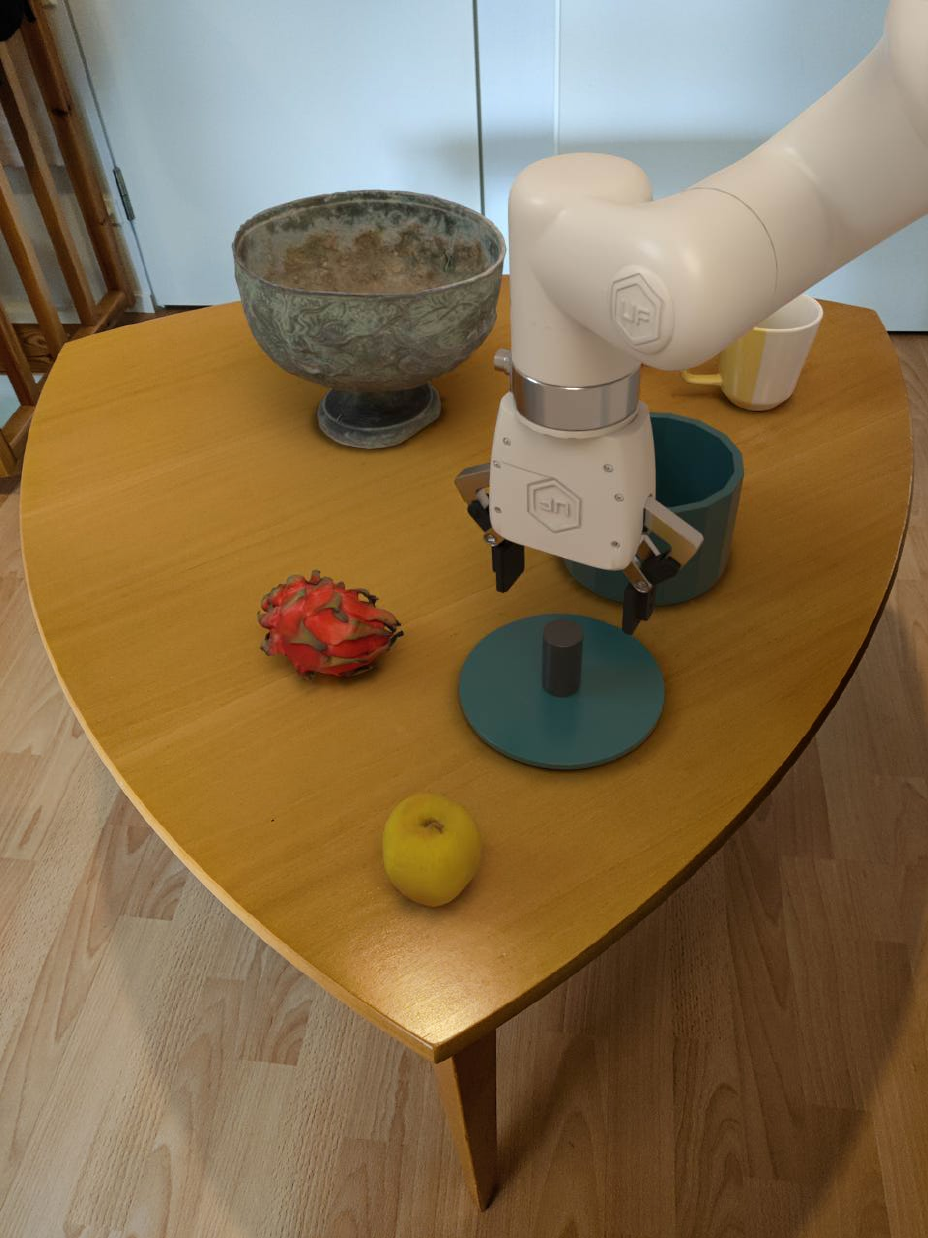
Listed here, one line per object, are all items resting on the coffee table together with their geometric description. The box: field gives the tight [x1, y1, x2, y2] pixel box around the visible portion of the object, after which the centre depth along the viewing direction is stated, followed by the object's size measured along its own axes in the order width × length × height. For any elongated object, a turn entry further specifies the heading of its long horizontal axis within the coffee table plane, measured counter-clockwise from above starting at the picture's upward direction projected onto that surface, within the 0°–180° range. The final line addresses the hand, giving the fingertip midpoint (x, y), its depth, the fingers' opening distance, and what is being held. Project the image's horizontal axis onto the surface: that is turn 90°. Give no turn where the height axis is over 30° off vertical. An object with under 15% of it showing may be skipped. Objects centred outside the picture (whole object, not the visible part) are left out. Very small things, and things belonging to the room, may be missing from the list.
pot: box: [562, 411, 745, 607], centre depth 86 cm, size 15×15×10 cm
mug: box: [678, 292, 824, 412], centre depth 104 cm, size 14×10×10 cm
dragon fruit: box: [256, 569, 405, 682], centre depth 79 cm, size 8×8×12 cm
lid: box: [458, 613, 666, 770], centre depth 75 cm, size 16×16×7 cm
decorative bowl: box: [231, 189, 508, 450], centre depth 102 cm, size 26×26×20 cm
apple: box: [381, 791, 483, 908], centre depth 63 cm, size 6×6×8 cm
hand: (571, 601), depth 70 cm, fingers open, 9 cm apart
